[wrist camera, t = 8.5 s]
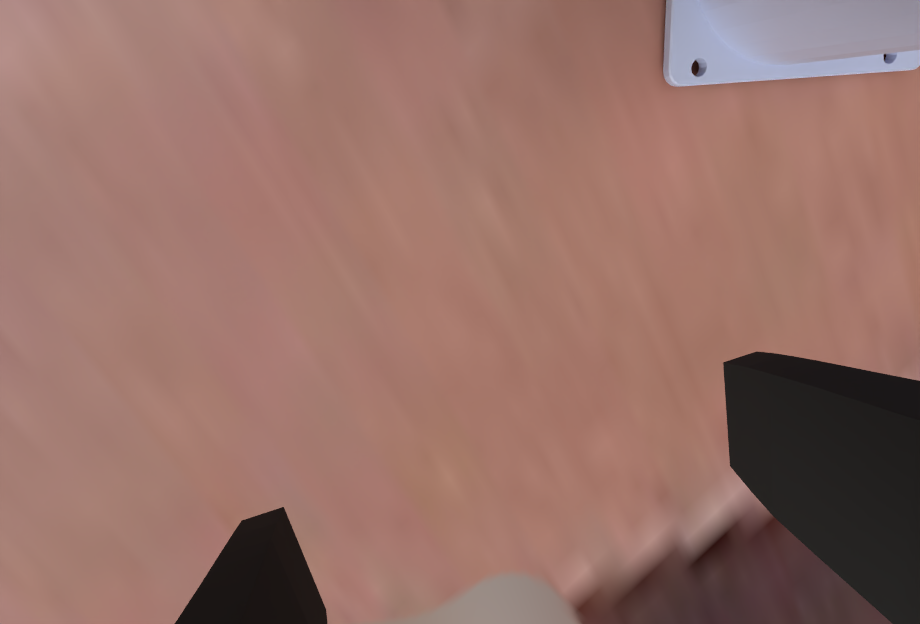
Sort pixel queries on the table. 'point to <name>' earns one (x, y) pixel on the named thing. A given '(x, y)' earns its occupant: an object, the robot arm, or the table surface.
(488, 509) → the table surface
